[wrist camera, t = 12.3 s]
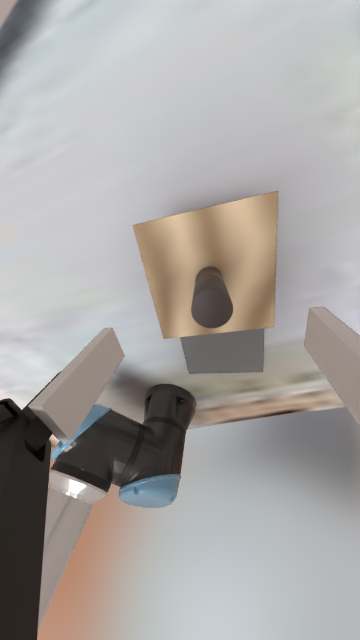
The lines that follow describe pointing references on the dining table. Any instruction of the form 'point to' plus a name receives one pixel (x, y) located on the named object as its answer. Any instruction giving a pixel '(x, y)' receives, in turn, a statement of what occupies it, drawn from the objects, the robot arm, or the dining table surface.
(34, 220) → the dining table surface
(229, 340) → the mat
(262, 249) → the lid
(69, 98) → the dining table surface
